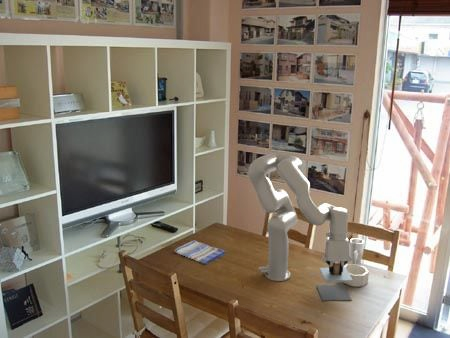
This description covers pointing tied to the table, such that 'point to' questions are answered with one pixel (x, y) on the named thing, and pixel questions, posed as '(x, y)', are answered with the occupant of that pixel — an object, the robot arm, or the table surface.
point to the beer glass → (356, 250)
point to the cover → (336, 274)
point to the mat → (333, 293)
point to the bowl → (357, 275)
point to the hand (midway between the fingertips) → (335, 273)
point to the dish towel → (199, 252)
